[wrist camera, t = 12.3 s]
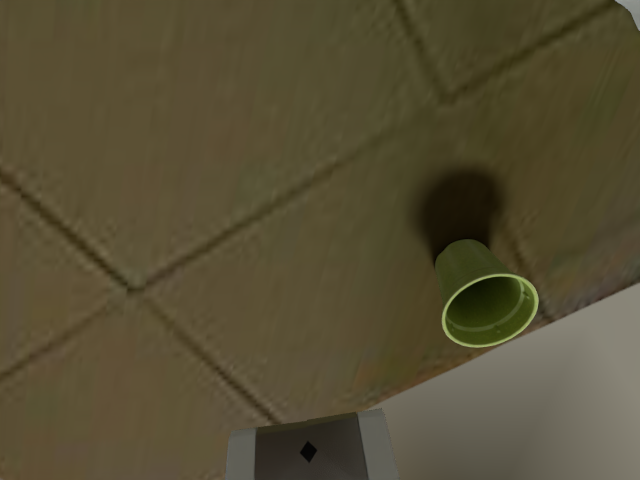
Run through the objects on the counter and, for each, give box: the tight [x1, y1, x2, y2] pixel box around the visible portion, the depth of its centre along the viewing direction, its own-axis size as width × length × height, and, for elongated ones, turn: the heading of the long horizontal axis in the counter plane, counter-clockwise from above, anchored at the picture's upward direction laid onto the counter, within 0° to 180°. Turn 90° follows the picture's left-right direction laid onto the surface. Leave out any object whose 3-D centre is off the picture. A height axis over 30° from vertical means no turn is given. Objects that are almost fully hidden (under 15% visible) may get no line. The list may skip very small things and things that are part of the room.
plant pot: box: [435, 239, 538, 347], centre depth 51 cm, size 9×9×9 cm
